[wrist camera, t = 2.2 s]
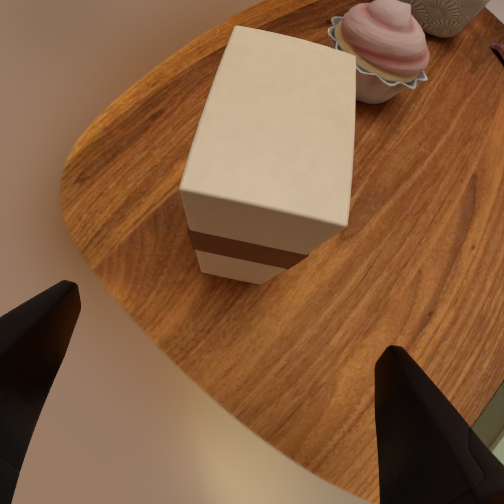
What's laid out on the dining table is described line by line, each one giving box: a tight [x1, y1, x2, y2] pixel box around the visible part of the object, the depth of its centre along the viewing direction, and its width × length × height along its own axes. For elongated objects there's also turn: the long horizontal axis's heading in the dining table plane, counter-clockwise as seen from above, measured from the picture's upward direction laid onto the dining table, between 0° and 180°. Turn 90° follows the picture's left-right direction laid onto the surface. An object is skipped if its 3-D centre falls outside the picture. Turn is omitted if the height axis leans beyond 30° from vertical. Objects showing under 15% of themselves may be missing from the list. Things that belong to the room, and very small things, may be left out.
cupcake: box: [328, 0, 429, 104], centre depth 21 cm, size 9×9×10 cm
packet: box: [179, 26, 356, 285], centre depth 15 cm, size 6×4×14 cm
